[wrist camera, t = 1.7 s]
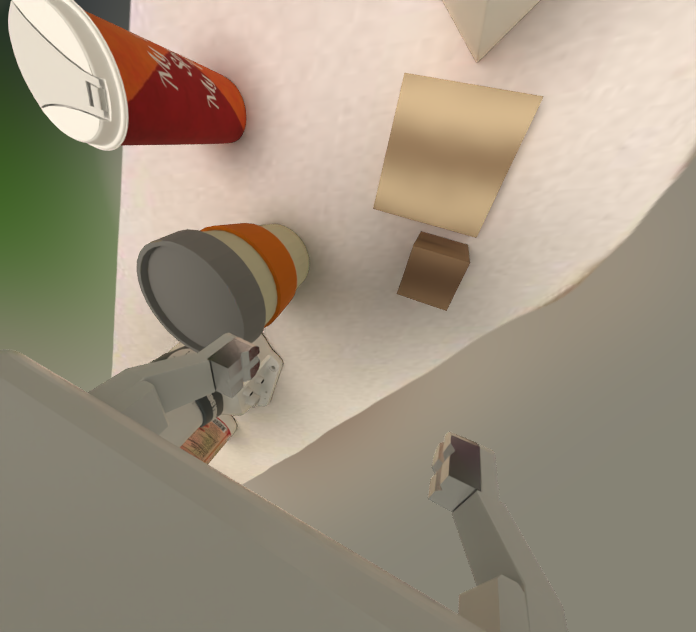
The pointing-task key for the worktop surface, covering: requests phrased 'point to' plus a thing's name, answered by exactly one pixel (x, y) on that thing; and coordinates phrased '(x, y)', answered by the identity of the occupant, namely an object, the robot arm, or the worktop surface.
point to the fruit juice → (210, 438)
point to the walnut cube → (434, 270)
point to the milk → (486, 21)
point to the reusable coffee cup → (221, 280)
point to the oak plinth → (451, 151)
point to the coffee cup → (118, 81)
